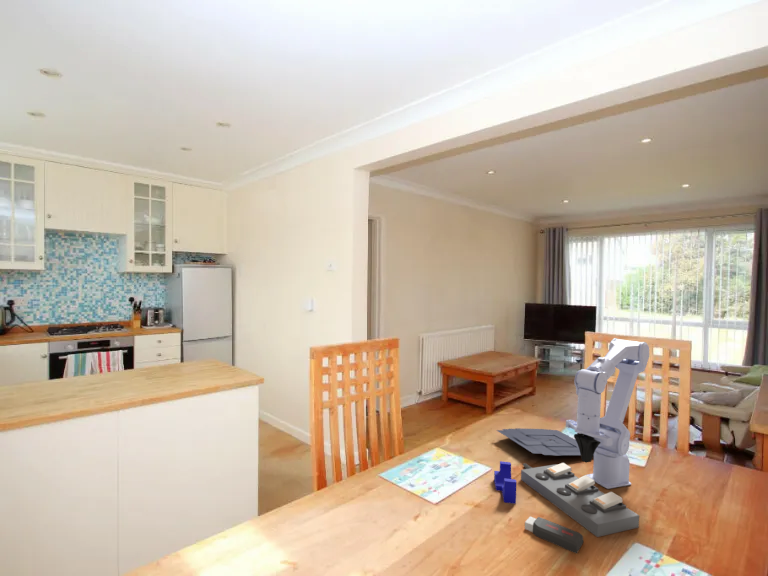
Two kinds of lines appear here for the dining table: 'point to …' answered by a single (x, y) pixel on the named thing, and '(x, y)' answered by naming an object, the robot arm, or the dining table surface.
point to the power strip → (579, 502)
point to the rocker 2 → (607, 500)
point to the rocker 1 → (559, 469)
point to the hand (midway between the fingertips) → (586, 461)
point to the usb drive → (555, 533)
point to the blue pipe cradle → (505, 482)
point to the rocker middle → (582, 483)
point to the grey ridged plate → (543, 441)
